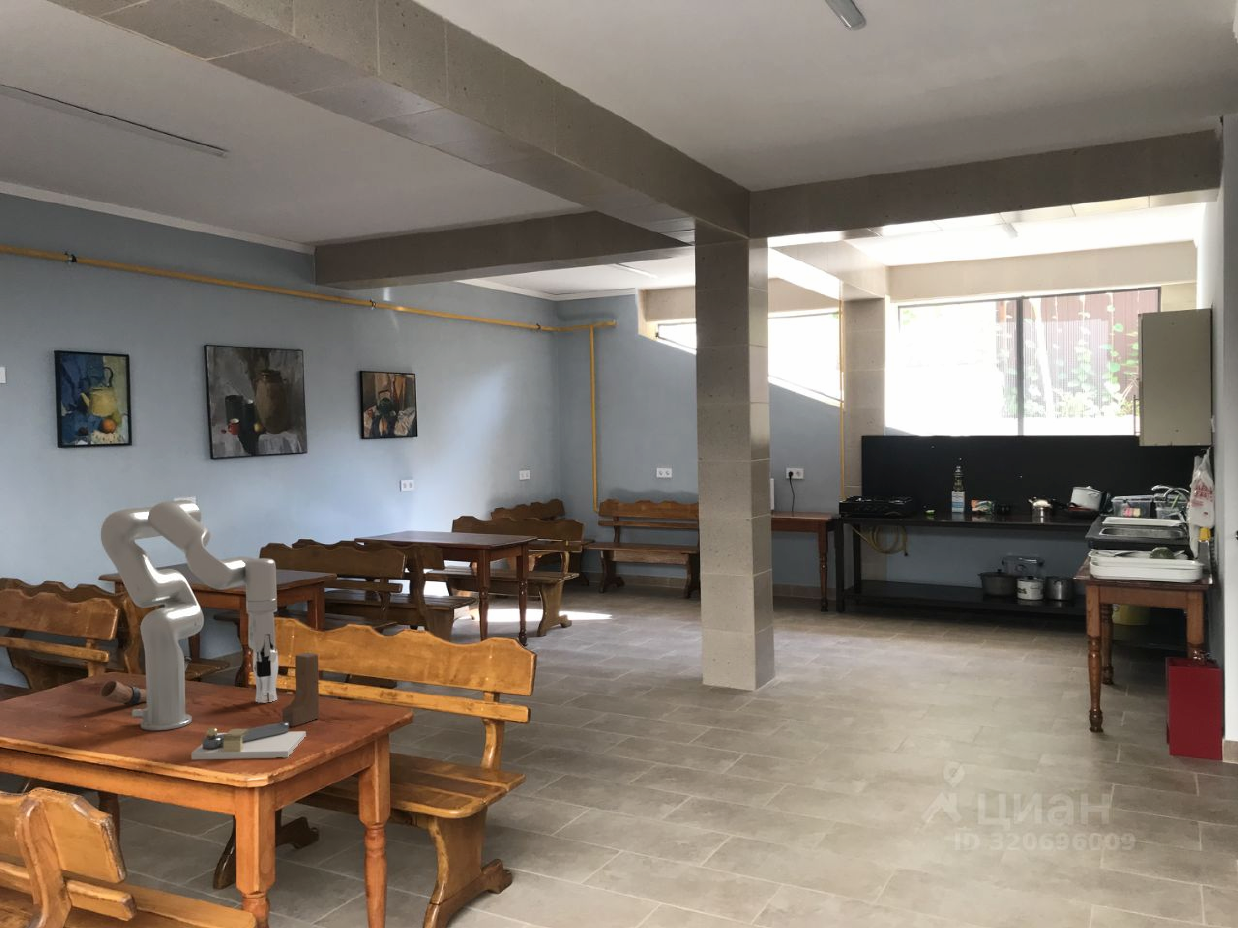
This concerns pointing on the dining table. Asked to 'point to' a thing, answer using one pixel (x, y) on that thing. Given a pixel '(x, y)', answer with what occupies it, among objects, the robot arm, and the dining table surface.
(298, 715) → the wooden block
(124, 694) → the drinking horn
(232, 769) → the dining table surface
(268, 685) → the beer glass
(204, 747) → the link
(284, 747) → the base plate
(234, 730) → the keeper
